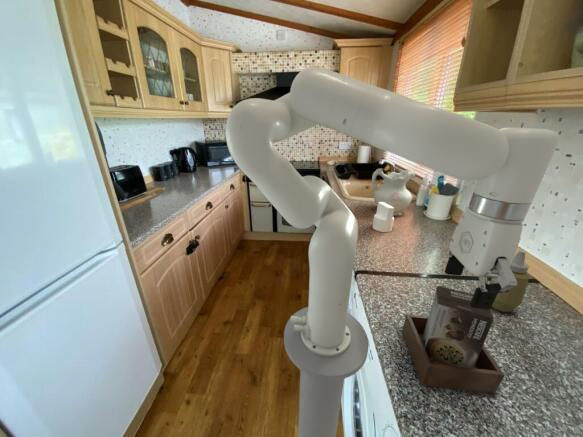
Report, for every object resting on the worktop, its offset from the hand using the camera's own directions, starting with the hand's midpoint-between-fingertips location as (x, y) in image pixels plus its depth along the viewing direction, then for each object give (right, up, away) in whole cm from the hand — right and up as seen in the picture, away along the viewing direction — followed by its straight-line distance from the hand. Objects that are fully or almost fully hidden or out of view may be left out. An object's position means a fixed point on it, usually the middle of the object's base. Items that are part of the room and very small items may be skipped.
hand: (464, 289), depth 47 cm
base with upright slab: (+11, +9, +71) cm, 73 cm away
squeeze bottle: (+26, -12, +23) cm, 37 cm away
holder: (0, -18, +7) cm, 19 cm away
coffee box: (0, -17, +7) cm, 19 cm away
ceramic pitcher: (+21, +17, +92) cm, 95 cm away
